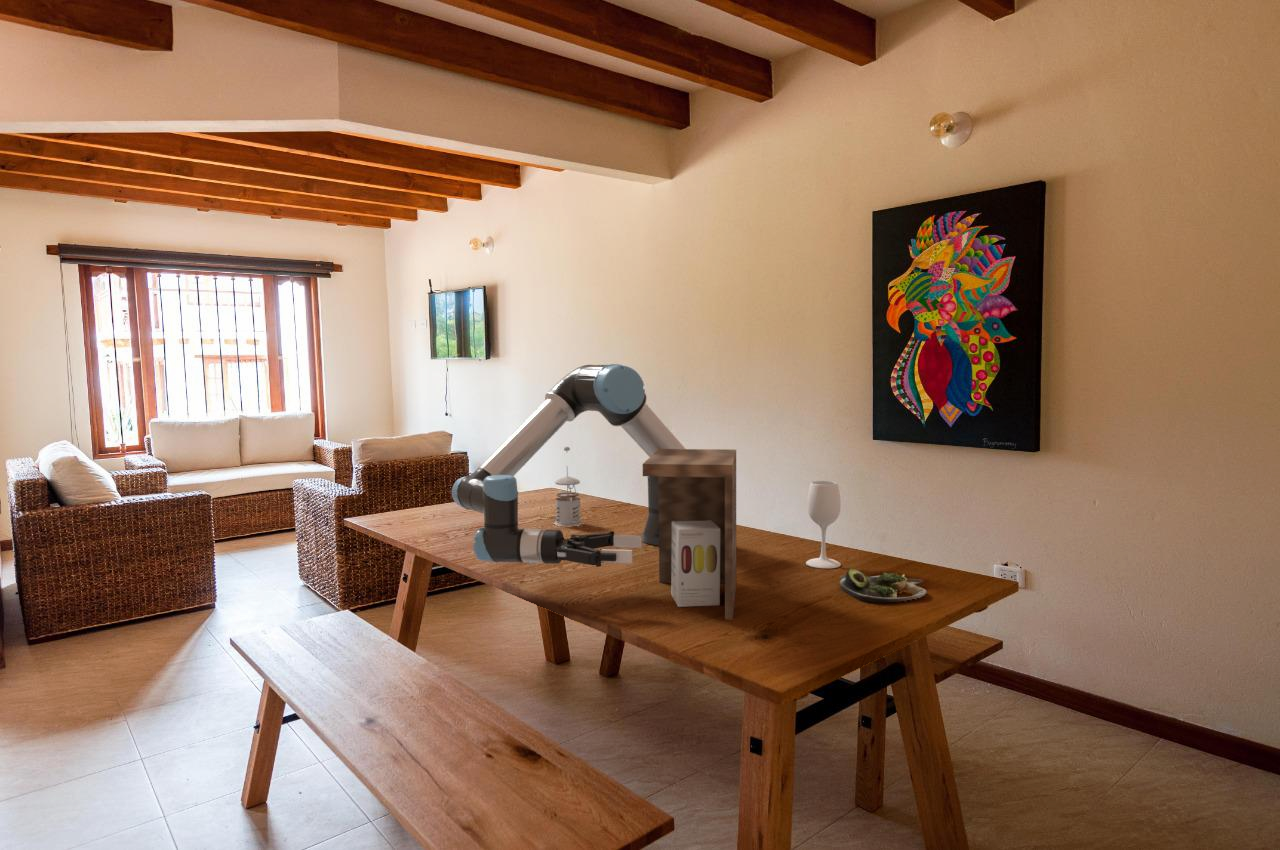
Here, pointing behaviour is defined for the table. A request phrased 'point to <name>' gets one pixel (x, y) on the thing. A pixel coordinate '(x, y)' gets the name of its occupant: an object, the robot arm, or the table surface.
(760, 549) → the table surface
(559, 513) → the french press
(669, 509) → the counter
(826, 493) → the wineglass
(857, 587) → the salad plate
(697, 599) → the supplement box
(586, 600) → the table surface
